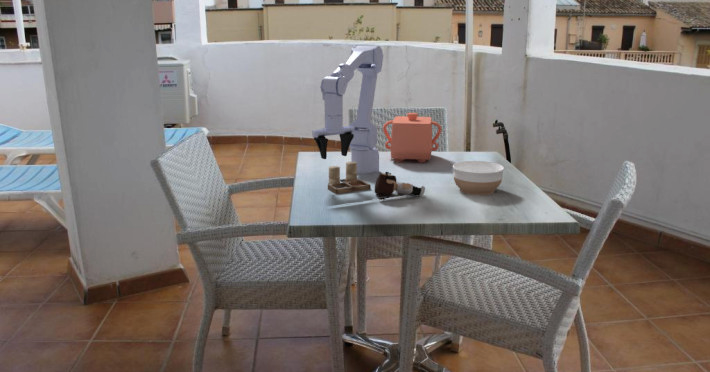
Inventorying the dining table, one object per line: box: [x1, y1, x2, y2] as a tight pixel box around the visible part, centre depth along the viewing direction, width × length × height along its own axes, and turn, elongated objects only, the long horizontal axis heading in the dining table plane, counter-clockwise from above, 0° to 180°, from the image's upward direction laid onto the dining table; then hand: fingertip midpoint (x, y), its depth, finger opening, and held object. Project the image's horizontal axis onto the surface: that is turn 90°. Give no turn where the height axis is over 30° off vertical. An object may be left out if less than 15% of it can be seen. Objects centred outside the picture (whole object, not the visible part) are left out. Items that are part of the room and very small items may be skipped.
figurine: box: [374, 171, 426, 201], centre depth 184 cm, size 9×8×15 cm
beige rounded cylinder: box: [327, 165, 341, 185], centre depth 195 cm, size 4×4×6 cm
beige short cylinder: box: [344, 161, 359, 182], centre depth 198 cm, size 4×4×6 cm
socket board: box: [327, 179, 372, 195], centre depth 191 cm, size 12×6×2 cm, turn 116°
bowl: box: [452, 160, 505, 196], centre depth 191 cm, size 16×16×8 cm
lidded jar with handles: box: [382, 112, 443, 163], centre depth 237 cm, size 25×23×18 cm
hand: (334, 157), depth 194 cm, fingers open, 7 cm apart
